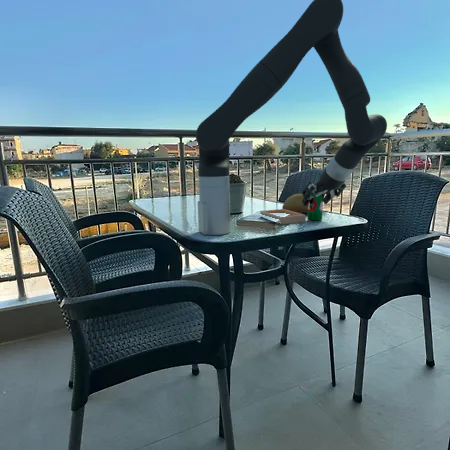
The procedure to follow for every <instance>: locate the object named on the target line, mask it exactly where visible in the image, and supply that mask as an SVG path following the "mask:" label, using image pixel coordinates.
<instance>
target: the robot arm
mask: <svg viewBox="0 0 450 450" xmlns="http://www.w3.org/2000/svg"><path fill="white" fill-rule="evenodd" d="M343 17H344V4H343V1H342V0H312V1H311V2H310V4H309V5H308V6H307V8H306V9H305V10H304V12H303V13H302V15H301V16H300V17H299V18H298V20H297V21H296V22H295V23H294V25H293V26H292V27H291V28H290V30H289V31H288V32H287V33H286V34H285V35H284V36H283V37H282V38H281V39H280V40H279V41H278V42H277V43H276V44H275V45H274V46H273V47H272V48H271V49H270V50H269V51H268V52H267V53H266V54H265V55H264V57H262V58H261V59H260V60H259V61H258V63H256V64H255V66H253V68H251V70H250V71H249V72H248V73H247V75H245V76H244V78H243V79H242V80H241V82H239V84H238V85H237V86H236V87H235V89H234V90H233V91H232V93H231V94H230V95H229V97H228V98H227V99H226V100H225V101H224V102H223V103H222V104H221V105H220V106H218V108H216V110H214V111H213V112H212V113H211V114H210V115H208V116H207V117H206V118H205V119H203V120H202V121H201V122H200V124H199V125H198V127H197V128H196V131H195V140H196V144H197V145H198V168H197V171H198V173H197V174H198V194H199V195H198V197H199V199H198V200H197V215H198V216H197V219H198V222H197V223H198V224H197V225H198V232H199V233H201V234H202V235H204V236H208V235H209V236H221V235H227V234H229V233H231V203H230V202H231V194H230V188H231V187H230V184H231V183H230V138H231V137H232V136H233V134H234V133H235V132H236V131H237V129H238V128H239V127H240V126H241V125H242V124H243V122H245V121H246V120H247V119H248V118H249V117H250V116H252V115H253V114H255V112H257V111H259V110H260V109H261V108H262V107H263V106H265V104H267V103H268V102H269V101H270V100H272V99H273V97H274V96H275V95H276V94H277V93H278V92H279V91H280V90H281V89H282V88H283V87H284V86H285V84H287V82H288V81H289V79H290V78H291V77H292V75H293V74H294V72H295V71H296V70H297V68H298V66H299V65H300V63H301V62H302V61H303V60H304V57H306V55H307V54H308V53H309V51H311V49H312V48H313V49H314V50H315V52H316V53H317V54H318V56H319V58H320V60H321V61H322V64H323V65H324V67H325V69H326V71H327V73H328V75H329V77H330V80H331V82H332V84H333V86H334V89H335V91H336V93H337V96H338V98H339V100H340V103H341V105H342V108H343V110H344V118H345V125H346V130H347V133H348V136H349V139H348V140H346V141H345V142H344V143H342V145H341V146H340V148H339V149H338V150H337V151H336V153H335V154H334V156H333V157H332V158H331V159H330V160H329V161H328V163H327V165H326V166H325V167H324V169H323V170H322V172H321V174H320V176H319V180H318V181H317V182H315V183H313V182H312V181H309V182H308V183H307V184H306V186H305V187H304V189H303V190H302V192H301V194H302V195H303V197H304V198H303V200H302V203H303V205H304V206H307V204H308V203H309V201H310V200H311V199H312V198H314V197H318V196H319V195H321V194H323V195H325V196H323V204H324V205H328V203H330V201H331V200H332V199H333V198H335V197H337V198H338V197H339V196H341V194H342V192H344V190H345V188H346V187H347V185H346V183H345V182H346V181H347V180H348V178H349V177H350V176H351V174H352V173H353V172H354V170H355V168H356V167H357V166H358V164H359V163H360V162H361V160H362V159H363V158H364V157H365V155H366V154H368V153H369V152H370V151H371V150H372V148H374V147H375V146H376V145H377V144H378V143H379V141H381V139H383V137H384V136H385V134H386V132H387V129H388V128H387V127H388V122H387V119H386V118H385V117H384V116H383V115H381V114H378V113H372V114H368V110H367V106H368V105H369V104H370V102H371V95H370V93H369V90H368V88H367V85H366V83H365V81H364V79H363V76H362V75H361V73H360V71H359V69H358V68H357V66H356V65H355V64H354V63H353V61H352V60H351V59H350V58H349V56H348V55H347V54H346V51H345V49H344V48H343V45H342V42H341V39H340V34H339V28H340V25H341V24H342V23H341V22H342V21H343ZM315 189H316V190H317V192H318V193H317V194H316V193H315ZM311 193H313V195H311V196H310V194H311Z"/></svg>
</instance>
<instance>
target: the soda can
mask: <svg viewBox="0 0 450 450" xmlns="http://www.w3.org/2000/svg"><path fill="white" fill-rule="evenodd" d="M315 193H316V194H317V193H318V192H317V190H316V189H315ZM311 195H313V193H311V194H310V196H311ZM323 198H324V194H321V195H319V196H318V197H314V198H312V199H311V200H310V201H309V203H308V213H307V217H306V218H307V219H306V220H307V221H309V222H312V223H313V222H314V223H315V222H321V221H322V220H323V213H324V212H323V209H324V207H323V206H324V205H323V204H324V202H323Z"/></svg>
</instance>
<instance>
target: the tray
mask: <svg viewBox="0 0 450 450" xmlns="http://www.w3.org/2000/svg"><path fill="white" fill-rule="evenodd" d="M259 212H260V213H259V215H260V214H262V215H265V216H269V217H272V218H275V219H279V220H280V222H281V225H290V224H301V223H306V220H307V219H306V218H307V217H306V216H307V215H306V214H305V213H296V212H293V211H289V210H285V209H282V208H279V209H268V210H266V209H265V210H260V211H259ZM270 213H286V214H290V216H286V217H280V216H276V215H273V214H270Z"/></svg>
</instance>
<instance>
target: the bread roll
mask: <svg viewBox="0 0 450 450" xmlns="http://www.w3.org/2000/svg"><path fill="white" fill-rule="evenodd" d="M303 198H304V197H303V195H302V193H295V194H292V195H290V196H288V197H287V199H286V200H285V201H284V203H283V204H282V208H281V209H285V210H289V211H293V212H296V213H300V214H308V204H307V206H304V205H303V203H302V200H303Z"/></svg>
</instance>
